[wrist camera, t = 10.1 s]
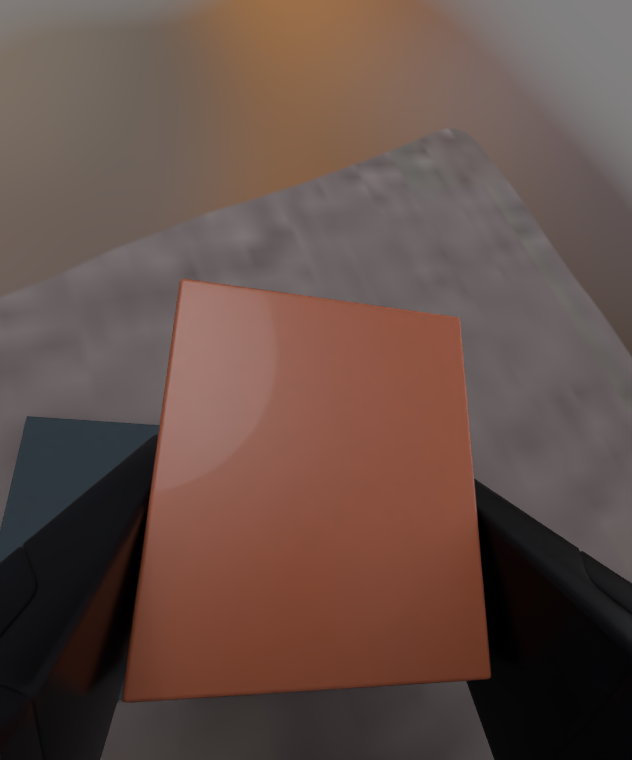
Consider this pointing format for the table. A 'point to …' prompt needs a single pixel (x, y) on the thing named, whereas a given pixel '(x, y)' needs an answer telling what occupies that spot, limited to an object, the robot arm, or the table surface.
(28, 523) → the mat
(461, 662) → the toy box
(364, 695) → the table surface
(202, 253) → the table surface
